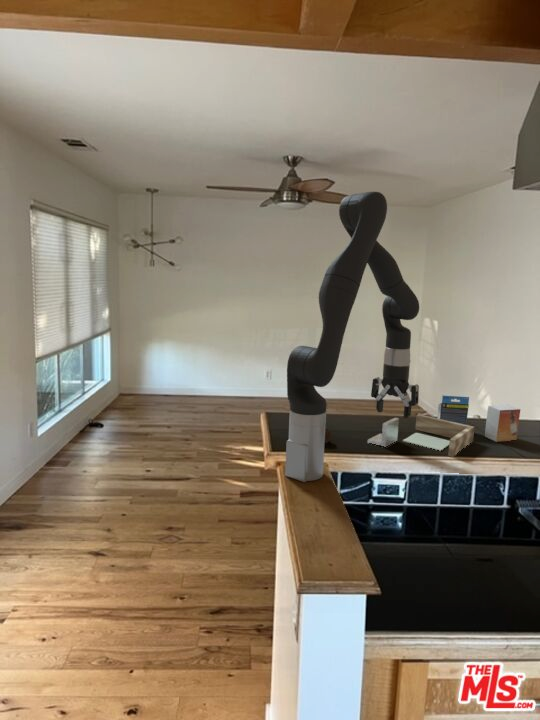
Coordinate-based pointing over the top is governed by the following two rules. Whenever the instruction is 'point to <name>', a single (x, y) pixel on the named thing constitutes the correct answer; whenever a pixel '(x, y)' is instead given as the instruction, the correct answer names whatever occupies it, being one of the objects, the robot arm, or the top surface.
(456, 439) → the corner walls
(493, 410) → the small box
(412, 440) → the pad
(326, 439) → the bolt
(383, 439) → the angle bracket
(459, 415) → the label tape box
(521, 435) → the top surface
